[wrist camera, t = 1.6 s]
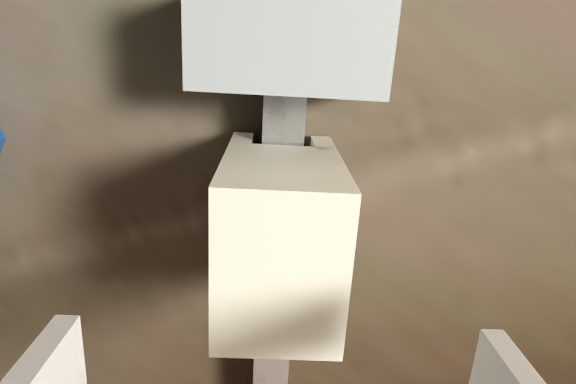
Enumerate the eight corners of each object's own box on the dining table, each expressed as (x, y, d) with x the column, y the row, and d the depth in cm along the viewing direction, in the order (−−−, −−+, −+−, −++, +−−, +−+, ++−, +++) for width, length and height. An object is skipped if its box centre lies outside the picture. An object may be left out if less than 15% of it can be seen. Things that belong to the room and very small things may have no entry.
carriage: (234, 131, 28) (208, 187, 17) (330, 136, 28) (361, 194, 18) (232, 248, 30) (208, 357, 20) (320, 251, 31) (342, 361, 20)
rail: (265, 83, 27) (263, 88, 24) (304, 85, 27) (307, 91, 24) (252, 416, 36) (250, 449, 33) (282, 417, 36) (283, 450, 33)
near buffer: (202, -10, 25) (180, -24, 20) (375, 1, 26) (403, -10, 20) (202, 80, 27) (182, 90, 21) (365, 89, 27) (389, 102, 22)
